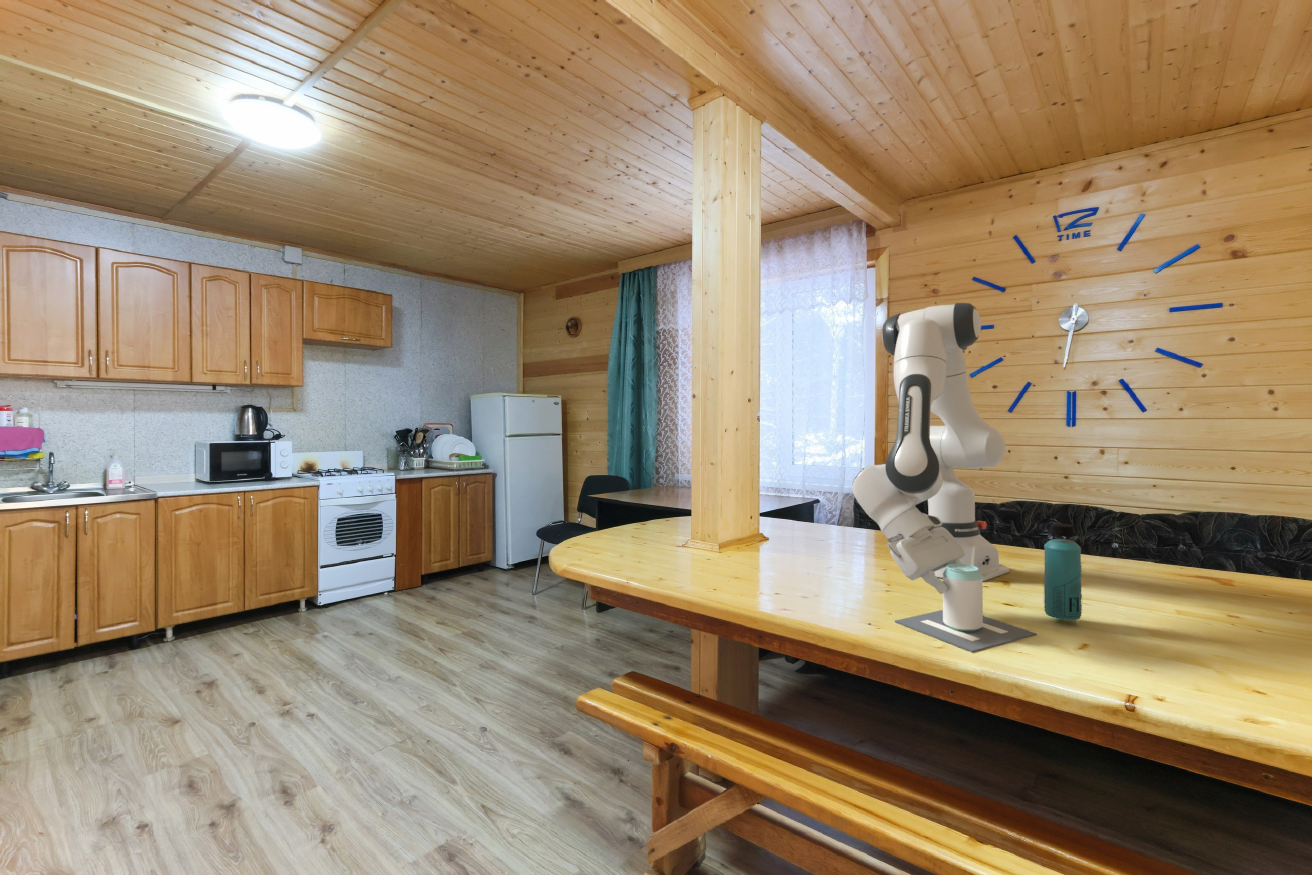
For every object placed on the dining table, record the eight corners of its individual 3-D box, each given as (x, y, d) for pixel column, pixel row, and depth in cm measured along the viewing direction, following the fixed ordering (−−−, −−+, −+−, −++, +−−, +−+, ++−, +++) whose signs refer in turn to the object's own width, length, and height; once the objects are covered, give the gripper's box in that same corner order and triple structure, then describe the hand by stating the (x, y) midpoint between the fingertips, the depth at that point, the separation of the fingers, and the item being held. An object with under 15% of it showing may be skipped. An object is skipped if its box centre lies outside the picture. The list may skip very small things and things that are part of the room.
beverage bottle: (1070, 630, 119) (1071, 528, 118) (1036, 620, 125) (1036, 523, 124) (1089, 624, 122) (1089, 524, 121) (1054, 614, 128) (1055, 520, 127)
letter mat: (955, 608, 133) (955, 606, 133) (1036, 634, 117) (1036, 632, 117) (894, 621, 126) (894, 620, 126) (972, 652, 109) (972, 650, 109)
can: (988, 633, 117) (988, 571, 117) (949, 632, 118) (948, 571, 118) (975, 620, 124) (975, 562, 123) (938, 619, 125) (938, 562, 125)
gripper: (893, 529, 121) (943, 588, 114) (941, 516, 134) (989, 568, 127) (873, 548, 124) (920, 606, 117) (922, 533, 137) (967, 584, 130)
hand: (956, 586), depth 122 cm, fingers open, 8 cm apart
